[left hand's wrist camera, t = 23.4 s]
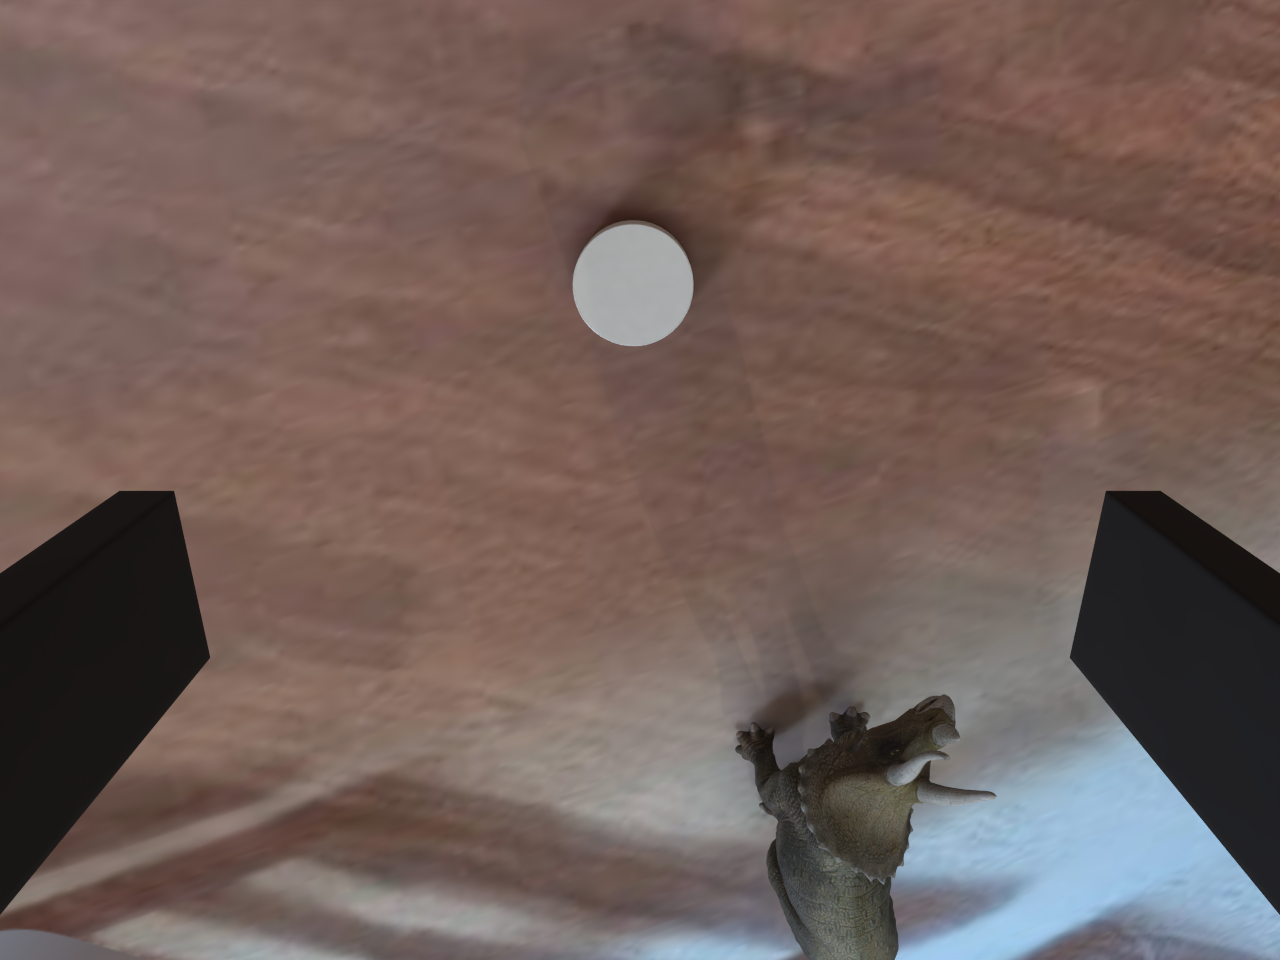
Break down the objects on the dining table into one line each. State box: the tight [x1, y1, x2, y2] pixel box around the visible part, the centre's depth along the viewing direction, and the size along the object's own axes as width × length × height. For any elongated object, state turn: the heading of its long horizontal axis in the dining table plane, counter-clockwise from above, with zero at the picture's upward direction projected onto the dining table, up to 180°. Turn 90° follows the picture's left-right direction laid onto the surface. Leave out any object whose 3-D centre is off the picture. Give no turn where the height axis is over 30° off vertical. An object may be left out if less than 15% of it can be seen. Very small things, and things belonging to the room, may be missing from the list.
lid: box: [573, 220, 694, 346], centre depth 36 cm, size 5×5×2 cm
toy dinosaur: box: [735, 695, 997, 960], centre depth 42 cm, size 22×8×11 cm, turn 179°
